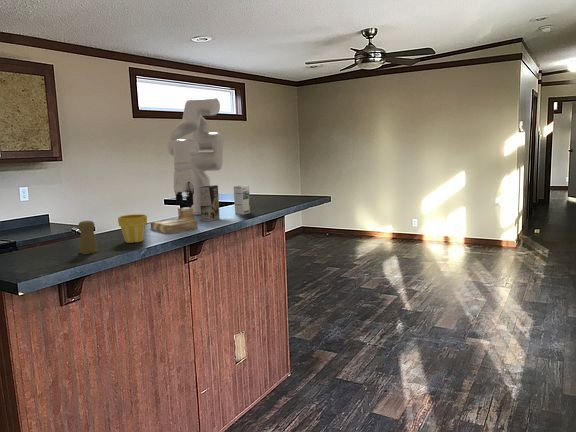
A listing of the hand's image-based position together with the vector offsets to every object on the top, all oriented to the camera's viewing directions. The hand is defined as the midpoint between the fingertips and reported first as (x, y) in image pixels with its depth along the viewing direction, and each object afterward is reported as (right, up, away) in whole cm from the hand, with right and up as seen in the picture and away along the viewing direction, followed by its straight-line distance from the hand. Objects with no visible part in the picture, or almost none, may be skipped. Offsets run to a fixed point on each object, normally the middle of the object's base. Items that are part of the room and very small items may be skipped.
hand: (184, 204), depth 219 cm
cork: (-22, -18, -52) cm, 60 cm away
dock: (-2, -11, -11) cm, 16 cm away
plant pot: (-12, -15, -35) cm, 40 cm away
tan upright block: (0, -9, +2) cm, 9 cm away
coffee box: (+10, -7, +10) cm, 16 cm away
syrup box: (+24, -4, +26) cm, 36 cm away
